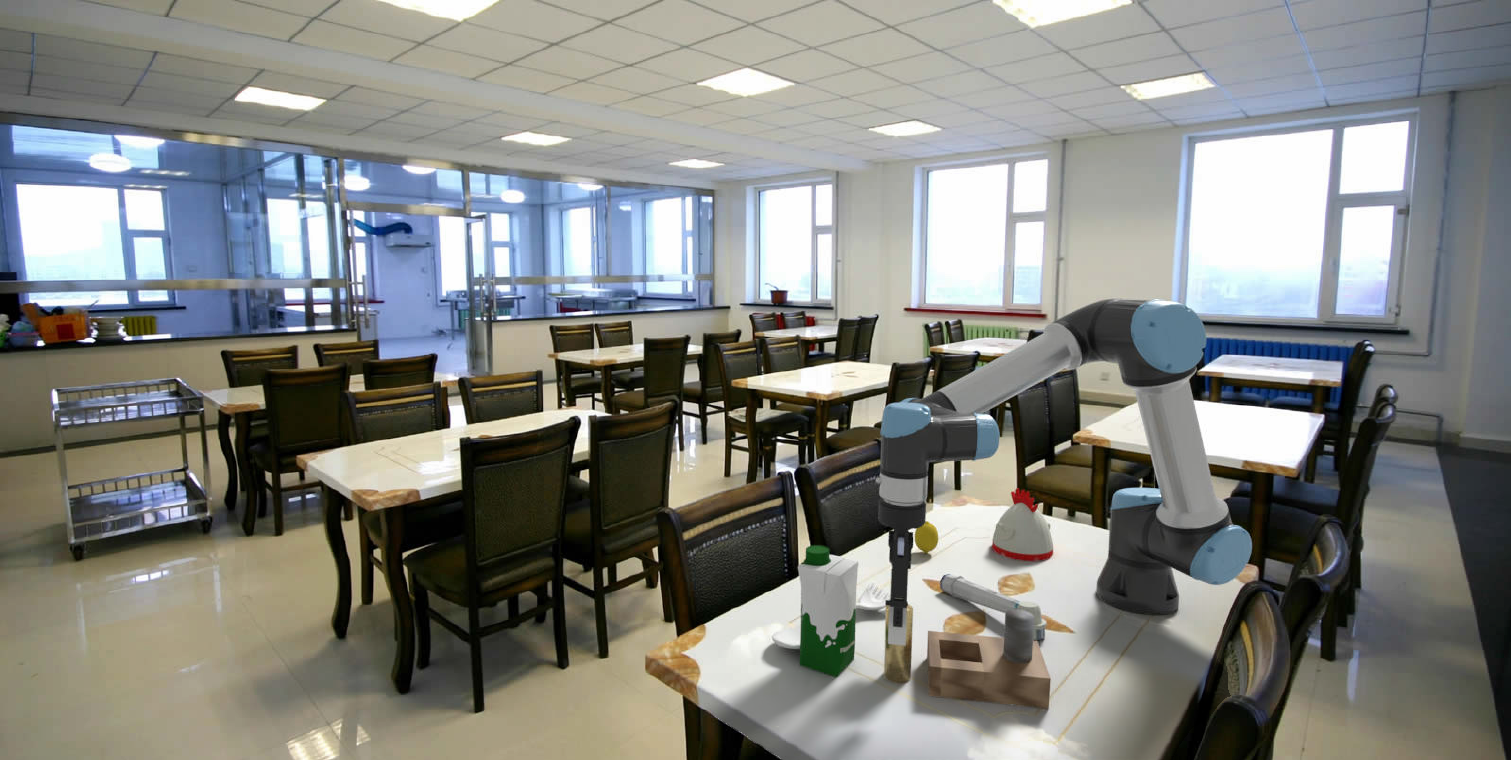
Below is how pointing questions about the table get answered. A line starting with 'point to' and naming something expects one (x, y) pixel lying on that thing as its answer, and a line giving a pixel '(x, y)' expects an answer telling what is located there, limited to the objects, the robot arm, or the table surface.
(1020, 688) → the jig
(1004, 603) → the grey bent pipe
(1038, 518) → the kitchen timer
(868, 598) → the white spork
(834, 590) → the milk carton
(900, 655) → the gold cylinder
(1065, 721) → the table surface
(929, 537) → the lemon
